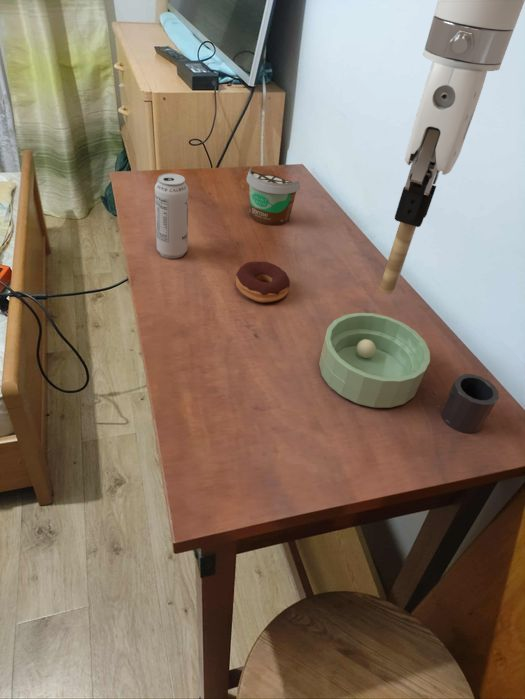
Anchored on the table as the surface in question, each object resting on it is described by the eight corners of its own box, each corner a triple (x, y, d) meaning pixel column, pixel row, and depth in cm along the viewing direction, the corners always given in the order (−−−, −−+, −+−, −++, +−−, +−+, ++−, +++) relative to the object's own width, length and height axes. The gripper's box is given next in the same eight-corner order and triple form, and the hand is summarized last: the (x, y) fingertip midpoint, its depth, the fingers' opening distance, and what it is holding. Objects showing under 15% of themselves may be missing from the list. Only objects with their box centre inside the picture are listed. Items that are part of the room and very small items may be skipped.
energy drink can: (190, 258, 100) (191, 185, 90) (160, 261, 98) (157, 186, 88) (183, 243, 104) (184, 171, 95) (154, 245, 102) (151, 172, 93)
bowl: (401, 342, 87) (411, 314, 83) (431, 411, 75) (445, 382, 71) (311, 340, 85) (318, 311, 81) (328, 410, 73) (336, 380, 69)
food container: (234, 218, 115) (238, 175, 108) (245, 208, 119) (249, 166, 113) (285, 233, 112) (292, 189, 106) (294, 222, 117) (301, 179, 110)
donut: (294, 304, 92) (297, 286, 89) (240, 307, 90) (242, 288, 87) (281, 274, 99) (283, 256, 97) (231, 275, 97) (232, 257, 94)
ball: (370, 349, 83) (375, 335, 81) (375, 362, 81) (379, 348, 79) (352, 349, 83) (356, 335, 81) (356, 361, 81) (361, 347, 79)
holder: (472, 402, 77) (488, 374, 73) (489, 433, 73) (506, 404, 69) (435, 402, 76) (448, 373, 73) (449, 433, 72) (464, 404, 68)
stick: (392, 285, 69) (430, 170, 59) (396, 294, 68) (435, 177, 57) (377, 285, 69) (413, 169, 58) (381, 293, 67) (418, 176, 57)
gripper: (497, 65, 43) (427, 256, 55) (512, 42, 54) (451, 204, 66) (410, 47, 45) (361, 235, 57) (442, 28, 56) (395, 188, 68)
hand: (410, 217), depth 61 cm, fingers closed on stick, 2 cm apart
